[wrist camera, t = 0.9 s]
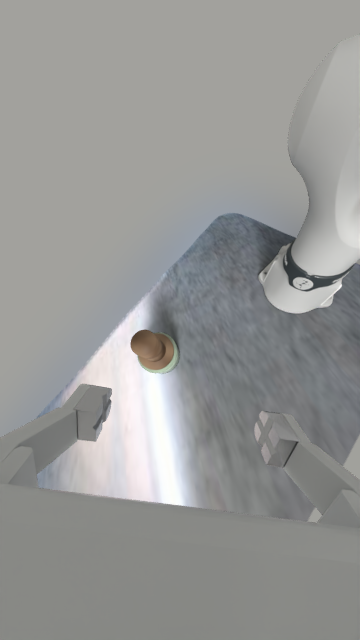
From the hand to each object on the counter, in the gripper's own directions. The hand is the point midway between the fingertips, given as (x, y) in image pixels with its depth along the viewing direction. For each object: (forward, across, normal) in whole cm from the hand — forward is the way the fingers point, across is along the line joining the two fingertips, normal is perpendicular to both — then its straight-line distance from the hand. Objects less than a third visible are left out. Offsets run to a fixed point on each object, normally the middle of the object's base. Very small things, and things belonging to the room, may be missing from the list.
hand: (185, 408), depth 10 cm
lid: (+30, +4, +14) cm, 33 cm away
